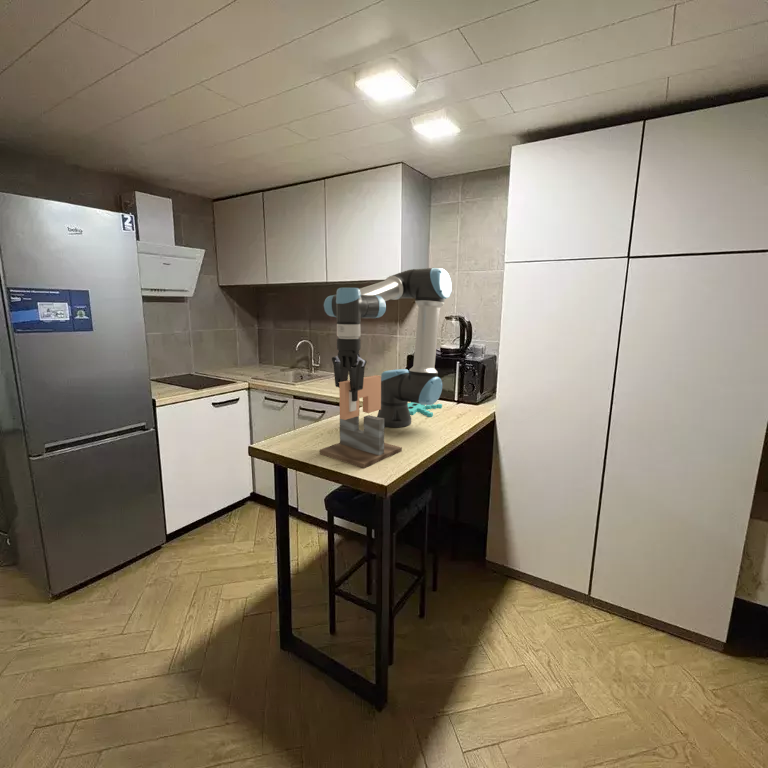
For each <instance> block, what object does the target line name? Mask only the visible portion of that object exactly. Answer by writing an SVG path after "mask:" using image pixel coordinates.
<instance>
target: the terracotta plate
mask: <svg viewBox="0 0 768 768" xmlns="http://www.w3.org/2000/svg"><path fill="white" fill-rule="evenodd" d="M338 390H339V420H340V419H344V420H347V419H350V418H354V417H357V416H359V417H360V399H361V398H362V413H365V414H371V413H374V412H376V411H379V410H381V375H375V374H374V375H369V376H364V381H363V389H362V390H358V400H357V401H356V410H355V411H351V412H350V411H349V390H351V387H350V379H348V381H343V382H339V387H338Z"/></svg>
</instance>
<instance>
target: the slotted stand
mask: <svg viewBox="0 0 768 768" xmlns="http://www.w3.org/2000/svg"><path fill="white" fill-rule="evenodd" d="M401 452H403V447H402V446H399V445H395V444H392V443H391V444H390V443H387V442H385V426H384V418H379V417H377V416H374V415H370V414H368V415H364V416H363V430H362V429H360V415H359V416H357V417H354V418H350V419H347V420H344V419H340V418H339V442H338V443H335V444H332V445H329V446H327V447H323V448H320V449H319V454H320V455H321V456H324V457H328V458H331V459H334V460H338V461H341V462H343V463H346V464H349V465H352V466H355V467H359V468H362V469H365V468H368V467H371V466H373V465H375V464H378V463H379V462H381V461H383V460H386V459H388V458H391V457H393V456H395V455H397V454H399V453H401Z"/></svg>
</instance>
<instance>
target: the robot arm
mask: <svg viewBox="0 0 768 768" xmlns="http://www.w3.org/2000/svg"><path fill="white" fill-rule="evenodd" d="M452 285H453V284H452V280H451V277H450V274H449V273H448V271H447V270H445V269H444V268H438V267H431V268H430V267H429V268H416V269H415V268H413V269H408V270H403V271H400V272H398V273H396V274H393V275H389V276H388V277H386V278H385V280H382V281H379V282H376V283H374V284H371V285H367V286H364V287H360V288H359V287H339V288H337V289H336V294H333V295H329V296H327V297H326V298H325V300H324V301H323V308H324V312H325V313H326V315H327V316H329V317H333V318H336V336H337V337H338V338H337V339H336V350H338V353H337V355H336V356H332V357H331V362H332V364H333V365H332V366H333V372H334V373H333V374H334V385H335V387H336V388H339V382H343V381H348V380H350V387H351V390H349V411H350V412H351V411H355V410H356V401H357V400H358V390H362V389H363V381H364V377H365V368H366V365H367V364H368V363H367V359H363V358H362V357H361V355H360V351H361V338H360V337H362V336H361V335H362V333H361V332H362V331H361V330H362V329H361V322H362V321H361V319H376V318H377V319H379V318H381V317H383V315H384V314H385V313H386V311H387V305H386V302H387V301H389V300H390V301H391V300H396V301H397V300H399V299H415V300H414V302H415V304H416V305H417V307H418V308H417V309H418V310H417V320H416V331H415V332H416V333H415V342H414V343H415V344H414V354H413V355H414V356H413V364H412V365H413V366H412V367H411V368H409V370H408V369H407V368H400V369H399V368H398V369H389V370H385V371H382V372H381V374H380V376H381V410H378V413H377V415H376V417H379V418H384V428H385V427H386V428H403V427H404V428H405V427H407V426H410V425H411V424H412V415H410V412H409V408H408V403H411V402H412V403H418V404H421V405H425V406H426V405H432V404H435V403H436V402H437V401H438V400H439V399H440V397H441V394H442V392H443V381H442V379H441V377H439V376H438V374H439V372H438V370H437V369H436V368H435V365H436V356H437V355H436V354H437V347H438V346H437V345H438V344H437V343H438V332H439V324H440V322H439V321H440V312H441V311H440V310H441V308H442V307H443V306H444V305H445V300H446V299H448V298H450V297H451V293H452V288H453V287H452Z"/></svg>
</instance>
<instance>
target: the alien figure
mask: <svg viewBox="0 0 768 768" xmlns="http://www.w3.org/2000/svg"><path fill="white" fill-rule="evenodd" d="M408 408H409V412H410V416H414V415H415V414H416V412H417V413H421V414H423V416H426V417H427V418H433V416H434V412H431V411H430V410H431V409H432V410H436V409H440V410H441V409H442V408H443V404H442V403H437V404H435V403H434V404H432V405H421V404H418V403H412V402H408ZM428 409H430V410H428ZM421 414H420V415H421Z"/></svg>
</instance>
